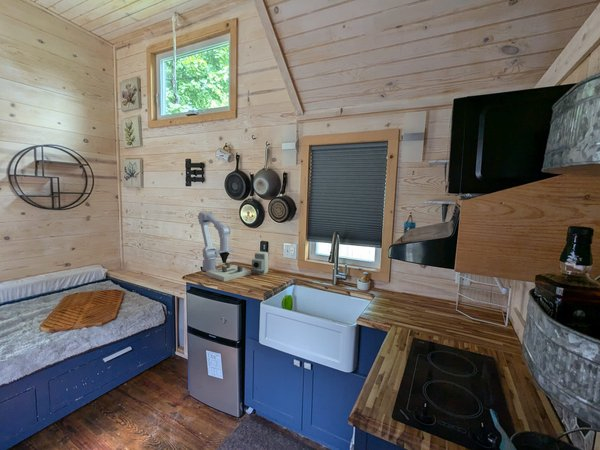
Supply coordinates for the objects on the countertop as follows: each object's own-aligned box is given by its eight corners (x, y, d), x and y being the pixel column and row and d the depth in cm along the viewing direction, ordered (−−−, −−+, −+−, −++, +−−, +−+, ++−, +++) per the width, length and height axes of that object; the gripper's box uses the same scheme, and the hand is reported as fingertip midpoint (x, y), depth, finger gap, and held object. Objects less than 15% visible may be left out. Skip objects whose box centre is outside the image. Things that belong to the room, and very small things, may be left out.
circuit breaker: (250, 275, 205) (251, 255, 203) (259, 270, 218) (259, 251, 217) (260, 276, 203) (260, 256, 201) (268, 271, 216) (268, 252, 215)
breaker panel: (206, 275, 202) (206, 266, 202) (233, 268, 221) (233, 260, 220) (224, 281, 190) (224, 271, 189) (251, 273, 209) (251, 265, 208)
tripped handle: (221, 271, 202) (221, 265, 202) (224, 270, 204) (224, 264, 203) (224, 271, 200) (224, 266, 200) (226, 271, 202) (226, 265, 201)
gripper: (219, 246, 191) (219, 265, 193) (236, 243, 203) (236, 261, 205) (212, 244, 196) (212, 264, 197) (229, 242, 207) (229, 260, 209)
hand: (224, 262), depth 201 cm, fingers closed
